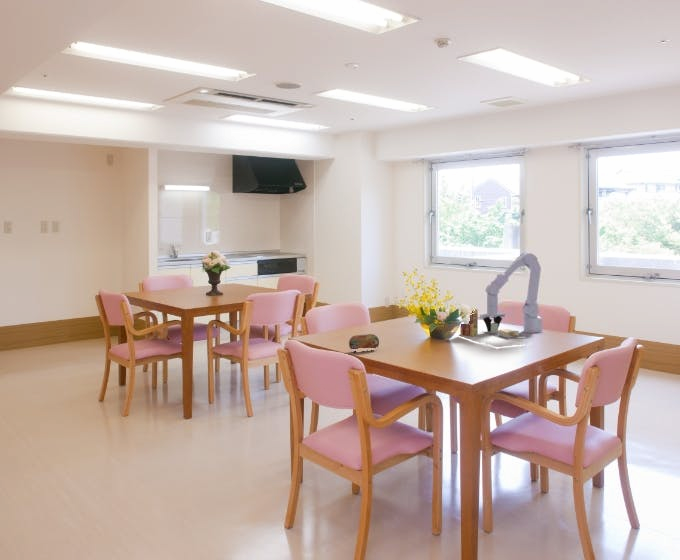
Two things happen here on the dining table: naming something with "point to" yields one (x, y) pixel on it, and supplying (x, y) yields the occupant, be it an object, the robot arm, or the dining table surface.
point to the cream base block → (509, 333)
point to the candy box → (470, 325)
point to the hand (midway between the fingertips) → (492, 330)
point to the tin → (364, 341)
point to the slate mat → (505, 337)
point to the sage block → (494, 328)
